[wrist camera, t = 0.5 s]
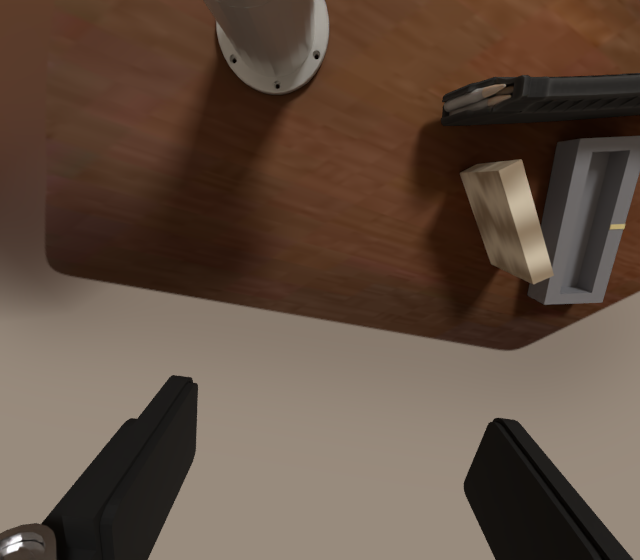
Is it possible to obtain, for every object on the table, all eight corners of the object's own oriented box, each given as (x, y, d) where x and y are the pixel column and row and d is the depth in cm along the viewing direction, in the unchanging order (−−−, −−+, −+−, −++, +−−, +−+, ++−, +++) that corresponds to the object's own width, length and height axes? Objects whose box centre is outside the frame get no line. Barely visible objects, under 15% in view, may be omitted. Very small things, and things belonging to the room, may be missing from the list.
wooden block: (459, 172, 39) (498, 170, 30) (478, 163, 38) (523, 158, 30) (490, 263, 43) (533, 284, 34) (508, 255, 42) (555, 274, 34)
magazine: (831, 51, 27) (599, 27, 19) (814, 92, 28) (587, 84, 20) (609, 100, 43) (432, 98, 35) (604, 125, 44) (430, 128, 36)
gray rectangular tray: (557, 142, 38) (581, 138, 34) (620, 139, 37) (651, 135, 34) (527, 295, 44) (544, 305, 41) (581, 293, 44) (602, 302, 41)
